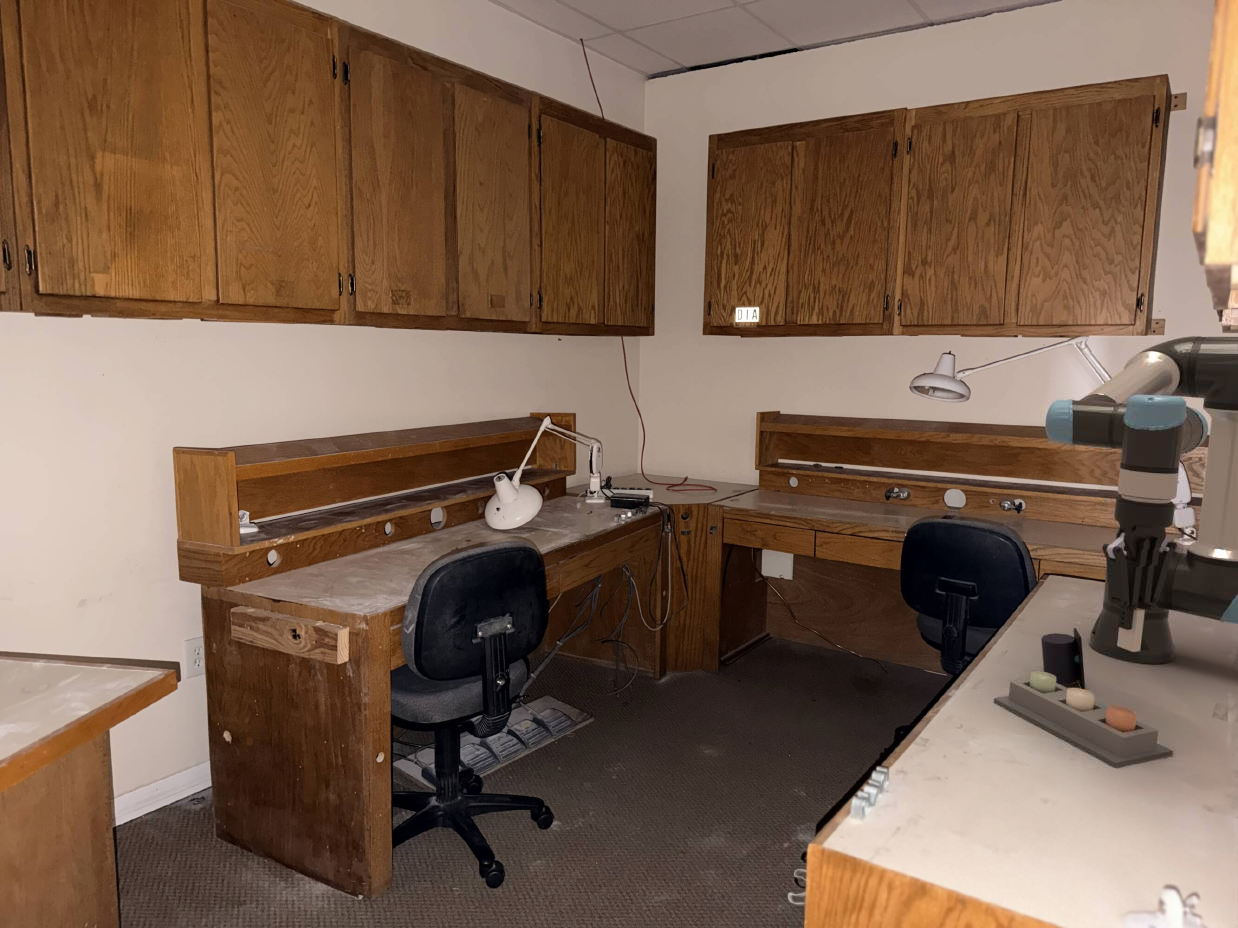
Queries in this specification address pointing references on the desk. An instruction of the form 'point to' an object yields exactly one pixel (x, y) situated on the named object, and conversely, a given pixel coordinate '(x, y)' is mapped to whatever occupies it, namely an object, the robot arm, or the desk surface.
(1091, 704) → the cream button
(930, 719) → the desk surface
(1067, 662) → the speaker
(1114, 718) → the terracotta button
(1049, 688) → the sage button
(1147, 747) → the control panel
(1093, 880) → the desk surface
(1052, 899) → the desk surface
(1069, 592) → the desk surface
